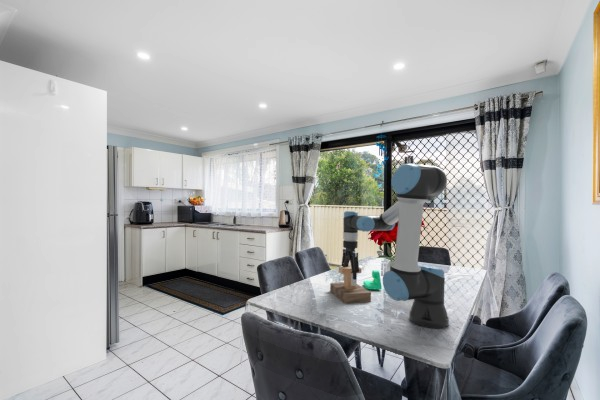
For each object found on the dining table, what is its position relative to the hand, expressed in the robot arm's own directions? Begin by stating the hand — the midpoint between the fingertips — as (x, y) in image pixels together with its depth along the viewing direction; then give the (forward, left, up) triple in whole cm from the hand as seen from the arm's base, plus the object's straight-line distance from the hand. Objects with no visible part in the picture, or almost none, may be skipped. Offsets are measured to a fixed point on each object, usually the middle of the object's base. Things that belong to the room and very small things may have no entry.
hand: (349, 282), depth 151 cm
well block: (0, 0, -7) cm, 7 cm away
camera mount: (+12, -20, -7) cm, 24 cm away
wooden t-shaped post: (0, 0, -7) cm, 7 cm away
